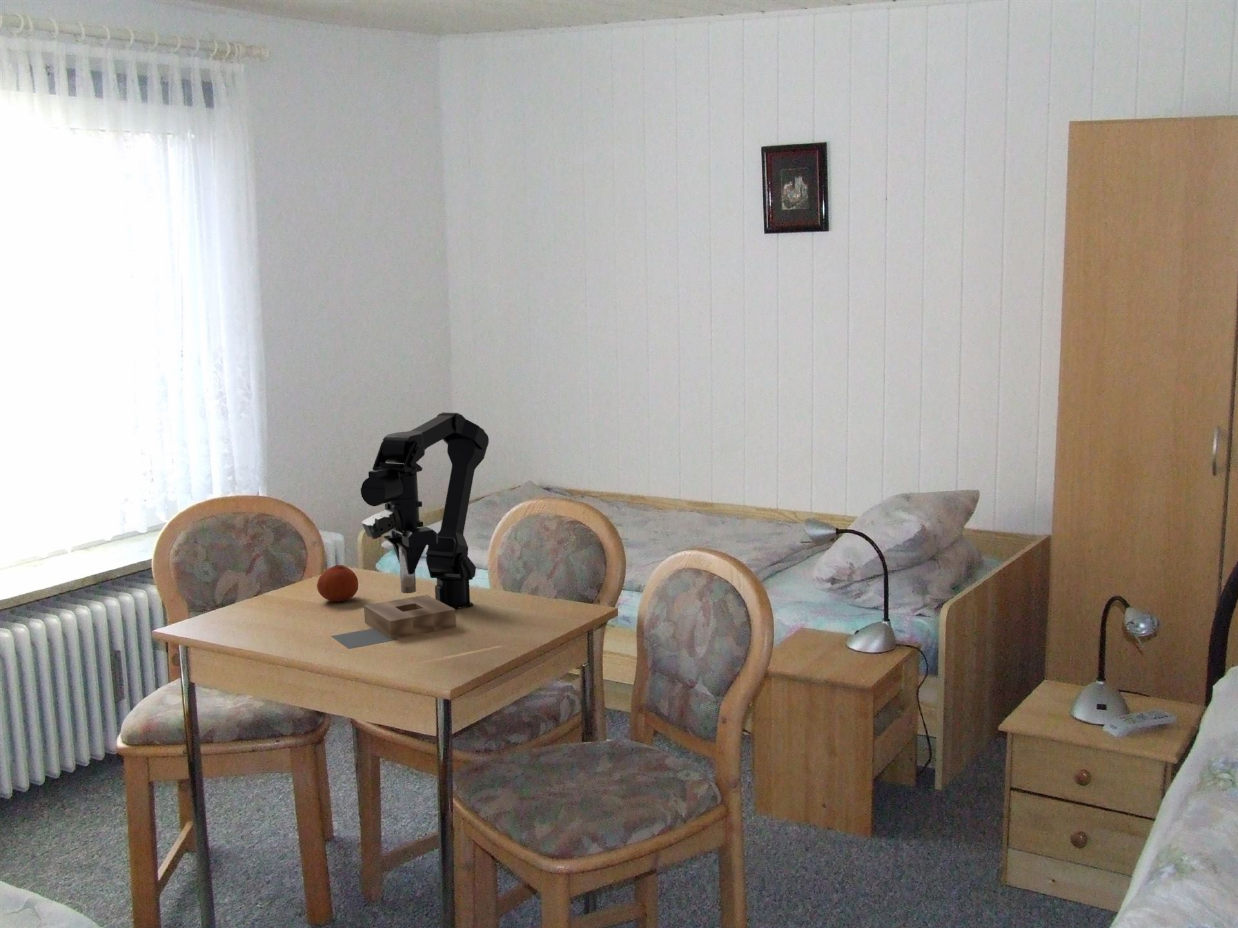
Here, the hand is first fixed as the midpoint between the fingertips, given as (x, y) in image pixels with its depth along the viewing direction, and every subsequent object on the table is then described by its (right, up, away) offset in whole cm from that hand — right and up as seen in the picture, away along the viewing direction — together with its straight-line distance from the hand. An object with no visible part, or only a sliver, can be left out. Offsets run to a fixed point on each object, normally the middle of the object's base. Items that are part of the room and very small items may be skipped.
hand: (407, 572), depth 253 cm
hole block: (0, -11, +2) cm, 11 cm away
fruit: (-19, -8, +22) cm, 31 cm away
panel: (-7, -13, -7) cm, 16 cm away
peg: (0, -4, +1) cm, 4 cm away
